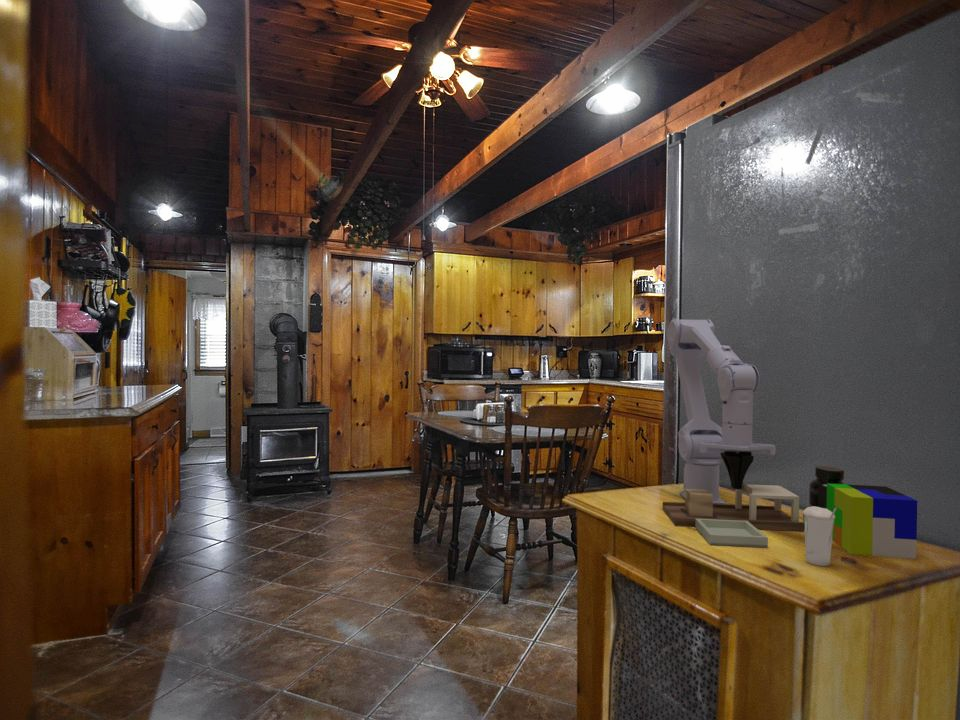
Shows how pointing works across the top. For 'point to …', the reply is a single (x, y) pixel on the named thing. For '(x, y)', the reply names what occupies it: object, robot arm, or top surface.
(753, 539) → the sage tray
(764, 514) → the board
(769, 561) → the top surface
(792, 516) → the cover
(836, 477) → the supplement bottle
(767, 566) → the top surface
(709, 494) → the maple block
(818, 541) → the milkshake
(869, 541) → the puzzle toy
